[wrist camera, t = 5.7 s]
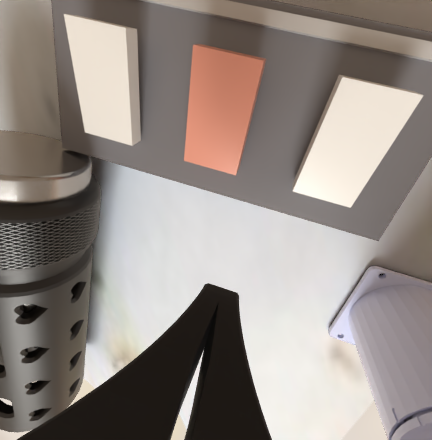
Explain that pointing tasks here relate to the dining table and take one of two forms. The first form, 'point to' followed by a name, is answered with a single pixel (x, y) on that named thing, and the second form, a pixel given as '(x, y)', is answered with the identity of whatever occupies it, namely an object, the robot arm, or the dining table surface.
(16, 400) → the muzzle brake
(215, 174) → the switch box
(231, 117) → the rocker middle
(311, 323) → the dining table surface
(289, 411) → the dining table surface
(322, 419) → the dining table surface
